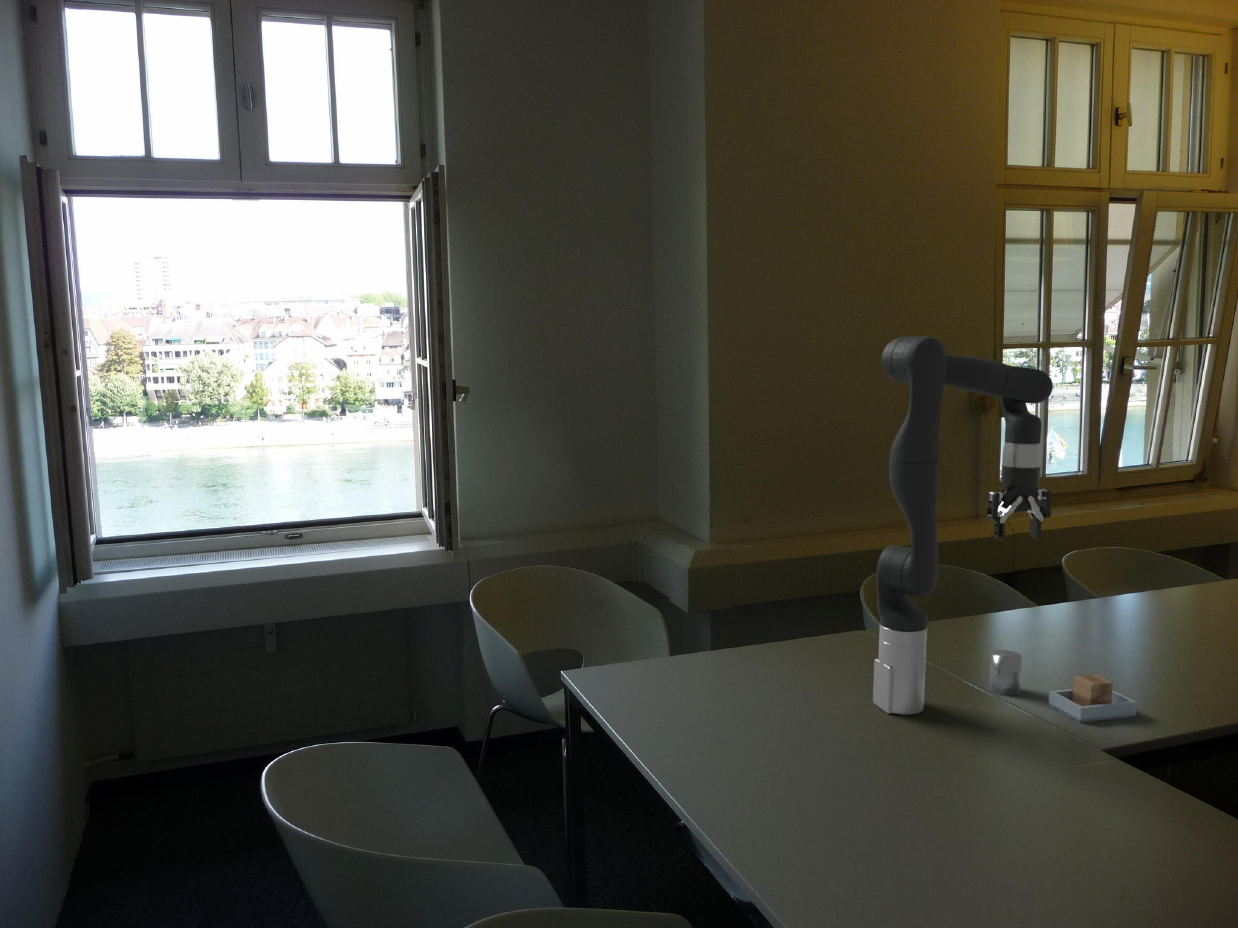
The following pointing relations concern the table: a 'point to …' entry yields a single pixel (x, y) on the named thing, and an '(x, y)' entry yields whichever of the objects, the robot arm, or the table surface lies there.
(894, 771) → the table surface
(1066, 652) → the table surface
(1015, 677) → the grey can
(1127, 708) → the slate tray
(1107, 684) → the walnut block
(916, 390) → the robot arm
